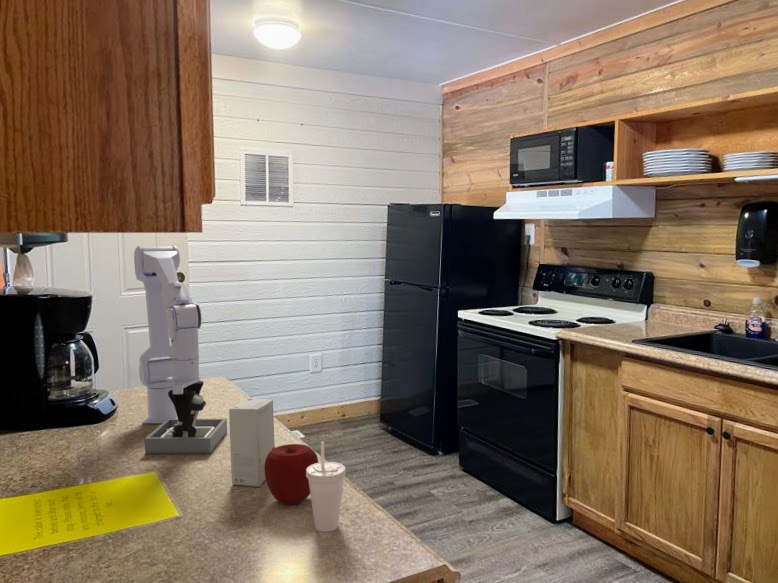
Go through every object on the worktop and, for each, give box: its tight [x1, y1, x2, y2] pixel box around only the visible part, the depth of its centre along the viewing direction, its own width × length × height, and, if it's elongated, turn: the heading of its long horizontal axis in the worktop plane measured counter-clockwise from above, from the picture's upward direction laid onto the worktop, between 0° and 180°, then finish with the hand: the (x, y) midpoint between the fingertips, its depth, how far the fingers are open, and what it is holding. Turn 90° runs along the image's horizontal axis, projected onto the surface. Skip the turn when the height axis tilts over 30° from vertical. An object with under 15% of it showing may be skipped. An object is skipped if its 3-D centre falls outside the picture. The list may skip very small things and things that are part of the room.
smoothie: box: [306, 441, 347, 533], centre depth 100 cm, size 6×6×14 cm
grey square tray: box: [144, 418, 228, 455], centre depth 140 cm, size 14×14×4 cm
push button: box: [165, 394, 207, 437], centre depth 139 cm, size 7×5×10 cm
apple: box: [264, 443, 320, 506], centre depth 110 cm, size 10×10×10 cm
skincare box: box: [228, 398, 276, 488], centre depth 119 cm, size 8×6×15 cm
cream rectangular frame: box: [161, 427, 215, 437], centre depth 140 cm, size 8×10×2 cm
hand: (187, 417), depth 139 cm, fingers closed on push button, 5 cm apart
